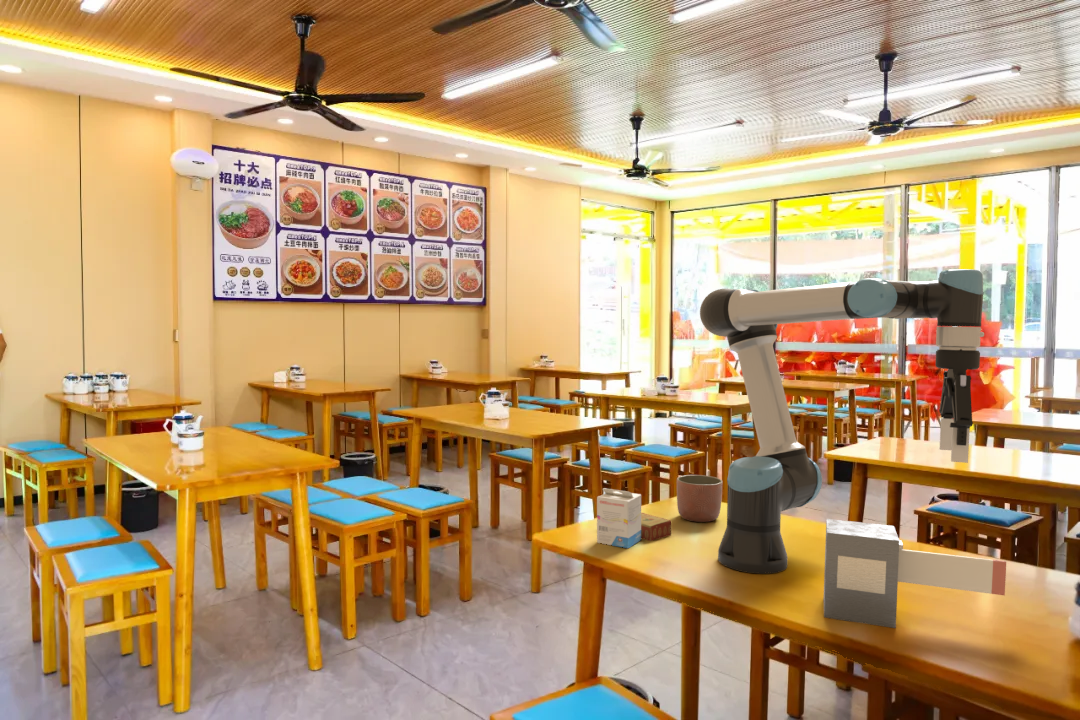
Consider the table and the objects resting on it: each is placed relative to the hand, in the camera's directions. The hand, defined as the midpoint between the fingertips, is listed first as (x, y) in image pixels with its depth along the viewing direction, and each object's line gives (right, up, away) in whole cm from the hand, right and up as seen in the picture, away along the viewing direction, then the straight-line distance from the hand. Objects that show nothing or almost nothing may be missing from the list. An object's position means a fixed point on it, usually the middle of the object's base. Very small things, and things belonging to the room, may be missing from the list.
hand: (953, 455), depth 141 cm
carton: (-57, -26, +45) cm, 77 cm away
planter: (-38, -25, +57) cm, 73 cm away
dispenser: (-22, -29, -6) cm, 37 cm away
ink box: (-62, -26, +35) cm, 76 cm away
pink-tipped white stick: (-8, -22, -12) cm, 26 cm away
